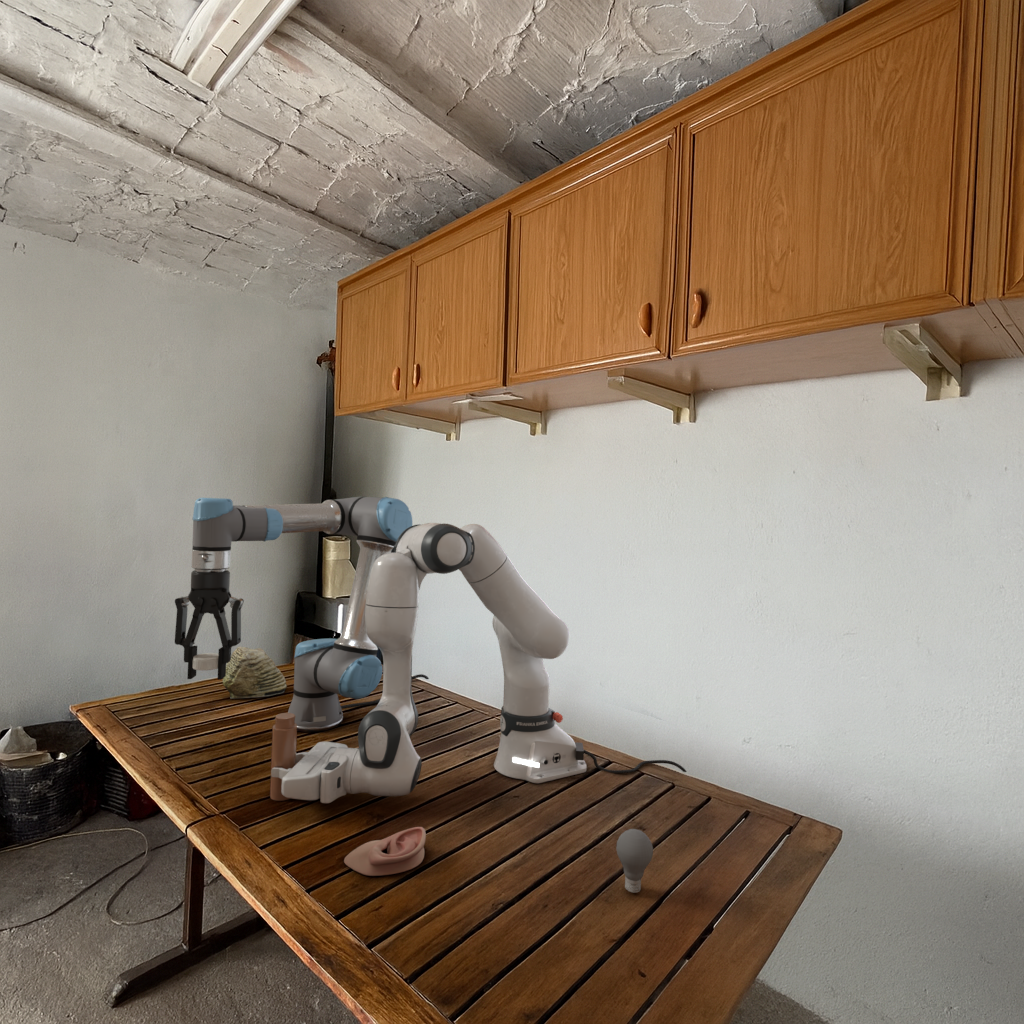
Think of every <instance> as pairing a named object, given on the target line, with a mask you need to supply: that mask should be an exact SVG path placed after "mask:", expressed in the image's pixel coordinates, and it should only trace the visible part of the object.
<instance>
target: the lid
mask: <svg viewBox="0 0 1024 1024" xmlns="http://www.w3.org/2000/svg"><path fill="white" fill-rule="evenodd" d="M218 654H219V653H217V652H206V653H199V654H198V653H197V655H195V656H194V657H193V665H192V668H193V669H195V670H196V671H203V672H204V671H213V670H218Z"/></svg>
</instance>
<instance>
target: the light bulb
mask: <svg viewBox="0 0 1024 1024" xmlns="http://www.w3.org/2000/svg"><path fill="white" fill-rule="evenodd" d="M615 849H616V854H617V857H618V859H619V861H620V863H621V865H622V867H623V873H624V874H623V875H624V876H625V878H624V888H625V890H627V891H628V892H630V893H634V894H635V893H639V892H640V891H641V889H642V887H641V886H642V879H643V877H644V875H645V871H646V868H647V867H648V866H649V864H650V863H651V861H652V859H653V855H654V847H653V843H652V841H651V838H649V836H648V835H647V834H646V833H645V832H643V831H642V830H641V829H636V828H629V829H627V830H625V831H623V832H622V833H621V834H620V835H619V837H618V839H617V841H616V847H615Z"/></svg>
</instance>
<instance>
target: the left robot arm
mask: <svg viewBox="0 0 1024 1024" xmlns="http://www.w3.org/2000/svg"><path fill="white" fill-rule="evenodd" d="M411 526H413V516H412V512H411V510H410V508H409V506H408V505H407V503H406V502H404V501H403V500H401V499H399V498H393V497H389V496H384V497H383V496H352V497H346V498H345V497H344V498H336V499H326V500H324V501H323V502H322V503H290V504H289V503H286V504H285V503H284V504H242V505H238V504H237V505H236V504H235V505H234V503H233V500H232V499H231V498H226V497H225V498H222V497H221V498H220V497H198V498H197V499H196V500H195V501H194V507H193V514H192V549H191V568H192V569H193V570H192V571H191V573H190V592H189V593H188V595H186V596H180V597H176V598H175V599H174V605H175V607H176V618H175V632H174V644H175V645H177V646H178V645H179V646H182V647H183V663H187V677H186V679H187V680H192V679H193V678H195V677H197V670H195V669H193V668H192V665H193V657H194V656H195V655H198V645H195V644H196V642H195V641H196V638H197V635H198V632H199V629H200V626H201V623H202V621H203V618H204V615H205V614H211V615H212V616H213V618H214V619H215V623H216V627H217V630H218V634H219V638H220V642H221V647H219V648H218V653H217V654H218V669H217V680H219V681H221V680H223V678H224V677H225V676H226V667H227V666H226V665H227V663H229V662H230V660H231V655H232V648H233V647H236V646H237V645H239V644H240V643H241V642H242V608H243V605H244V602H245V600H244V599H243V598H241V597H240V598H236V597H234V596H232V593H231V592H230V583H231V580H230V579H231V572H230V570H229V569H230V568H231V559H232V557H231V556H232V555H231V554H232V553H231V552H232V542H266V541H275V540H277V539H278V538H280V536H281V535H282V534H295V533H309V532H324V533H325V534H328V535H345V536H351V537H356V543H357V545H358V546H359V548H360V549H359V554H358V559H357V562H356V563H357V564H356V568H355V571H354V572H355V574H354V578H353V581H352V586H351V591H350V595H349V599H348V604H347V608H346V609H347V610H346V613H345V618H344V623H343V627H342V632H341V636H339V637H338V638H331V637H329V638H317V639H316V638H315V639H308V640H304V641H300V642H299V643H298V644H297V645H296V646H295V650H294V651H295V652H294V655H293V658H294V670H293V671H294V672H293V695H292V696H293V697H292V699H291V702H290V704H289V708H288V711H287V713H293V714H295V723H296V724H297V732H301V733H316V732H325V731H329V730H332V729H335V728H337V727H339V726H340V725H342V723H343V722H344V714H343V710H344V709H349V708H356V707H363V706H364V707H365V706H371V705H376V704H378V703H379V701H380V699H381V698H379V699H375V700H371V701H364V702H356V703H350V704H349V703H348V704H343V705H341V702H340V699H339V695H340V696H341V697H343V698H346V699H347V698H348V699H354V700H360V699H365V698H367V697H368V696H369V695H371V693H372V692H374V691H375V690H376V688H377V687H378V685H379V684H380V681H381V680H382V677H383V664H382V662H381V660H380V659H379V658H378V657H377V655H378V650H379V648H378V646H377V645H375V644H374V643H373V642H372V641H371V640H370V639H369V637H368V636H367V631H366V623H365V608H366V596H367V589H368V583H369V578H370V574H371V570H372V567H373V564H374V562H375V560H376V559H377V558H378V557H380V556H382V555H384V554H387V553H391V550H392V549H393V547H394V546H395V544H396V541H397V539H398V537H399V536H400V534H401V533H402V532H403V531H404V530H405V529H407V528H409V527H411ZM190 603H191V605H192V606H193V608H194V610H193V612H192V618H191V621H190V624H189V626H188V630H187V622H188V610H189V609H188V608H189V605H190ZM228 603H229V607H230V608H231V614H230V615H231V616H230V617H231V619H230V621H231V622H230V624H231V626H230V627H231V630H230V629H229V625H228V621H227V618H226V611H225V607H226V606H227V605H228ZM418 678H424V679H425V680H429V679H430V678H429V677H428V676H427V675H426V674H423V673H421V674H420V673H419V674H415V675H413V676H412V680H414V679H418Z"/></svg>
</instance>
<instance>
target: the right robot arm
mask: <svg viewBox="0 0 1024 1024" xmlns="http://www.w3.org/2000/svg"><path fill="white" fill-rule="evenodd" d="M458 570H459V571H460V572H461V574H462V576H463V578H464V579H465V580H466V582H467V583H468V584H469V586H470V587H471V589H472V590H473V591H474V593H475V594H476V596H477V598H479V600H480V602H481V603H482V604H483V606H484V607H485V609H487V610H488V611H489V612H490V613H491V614H492V615H493V617H492V621H491V623H492V629H493V631H494V633H495V636H496V638H497V641H498V642H497V643H498V646H499V652H500V658H501V664H502V669H503V670H502V671H503V701H502V703H503V704H502V705H501V710H500V719H499V729H500V737H499V745H498V749H497V753H496V756H495V760H494V762H493V767H494V769H495V770H496V771H497V772H498V773H499V774H501V775H503V776H506V777H509V778H512V779H517V780H523V781H526V782H530V783H532V784H542V783H547V782H550V781H554V780H559V779H564V778H567V777H570V776H574V775H575V776H576V775H579V774H584V773H586V772H587V770H588V767H587V763H586V761H585V755H587V756H588V757H590V758H591V759H592V760H593V764H594V766H595V768H596V769H598V770H599V771H603V772H607V773H611V774H618V775H621V774H632V773H634V772H636V771H638V770H639V769H640V768H641V767H642V766H644V765H653V764H668V765H672V766H674V767H676V768H678V769H679V770H681V771H682V772H683V773H687V772H688V770H686V769H685V767H683V766H682V765H681V764H679V763H678V762H675V761H672V760H668V759H667V760H666V759H654V760H652V759H651V760H644V761H641V762H639V763H638V764H637V765H636V766H635V767H633V768H630V769H621V770H620V769H619V770H617V769H615V770H613V769H607V768H604V767H602V766H601V765H599V764H598V761H597V757H596V756H595V754H593V753H591V752H589V751H588V750H586V749H584V744H583V742H577V741H576V742H575V740H574V739H573V737H572V736H571V735H570V734H568V733H567V732H566V731H565V730H564V729H562V727H560V726H558V724H560V723H562V722H563V720H564V716H563V715H562V713H560V712H558V711H555V710H554V709H552V708H551V707H550V689H551V688H550V687H551V679H550V675H549V672H548V670H547V668H546V665H545V663H544V660H553V659H557V658H559V657H560V656H562V655H563V654H565V651H566V650H567V648H568V647H569V644H570V640H571V633H570V629H569V627H568V625H567V624H566V622H565V621H564V620H563V619H562V618H560V617H559V616H558V615H557V614H556V613H555V612H554V611H553V610H552V609H551V608H550V607H549V605H548V604H547V603H546V602H545V601H544V599H542V598H541V596H540V595H539V594H538V593H537V592H536V591H535V590H534V589H533V588H532V587H531V586H530V585H529V584H528V582H527V581H526V580H525V579H524V578H523V576H522V575H521V573H520V572H519V570H518V569H517V567H516V566H515V564H514V563H513V562H512V560H511V558H510V557H509V556H508V554H507V553H506V552H505V550H504V548H503V547H502V546H501V544H500V543H499V542H498V541H497V539H496V538H495V537H494V536H493V535H492V534H491V533H490V532H489V531H488V530H487V529H486V528H485V527H484V526H483V525H481V524H479V523H478V524H477V523H469V524H465V525H464V526H461V527H460V528H459V527H458V526H456V525H454V524H452V523H451V524H450V523H439V522H426V523H422V524H420V523H419V524H414V525H413V524H412V526H411V527H409V528H407V529H405V530H404V531H403V532H402V533H401V534H400V536H399V537H398V539H397V541H396V544H395V546H394V547H393V549H392V550H391V553H387V554H384V555H382V556H380V557H378V558H377V559H376V560H375V562H374V564H373V567H372V570H371V574H370V578H369V583H368V589H367V596H366V608H365V623H366V631H367V636H368V637H369V639H370V640H371V641H372V642H373V643H374V644H375V645H376V646H377V648H378V650H380V652H381V655H382V661H383V663H382V694H381V697H380V698H379V699H380V701H379V703H377V705H376V706H375V707H374V708H373V709H371V710H370V711H369V712H368V713H367V714H366V715H365V716H364V717H363V718H362V720H361V721H360V722H359V726H358V729H357V742H358V748H357V747H348V745H347V744H345V743H340V742H333V741H317V743H316V744H315V745H314V746H313V747H312V748H311V749H310V750H308V751H302V752H298V753H297V752H296V765H295V766H294V767H293V768H292V769H291V768H289V769H288V770H287V769H284V768H283V766H275V767H274V768H273V769H272V770H271V769H270V777H271V776H272V777H278V778H280V779H282V785H281V793H282V795H283V796H285V797H287V798H290V799H293V800H301V801H317V800H320V803H321V804H330V803H332V802H334V801H336V800H337V799H339V798H340V797H344V796H346V795H347V794H349V795H351V794H352V795H359V794H364V793H365V794H368V795H371V796H375V797H403V796H408V795H409V794H411V793H412V792H413V790H414V789H415V788H416V786H417V784H418V781H419V779H420V775H421V771H422V765H423V761H422V757H421V756H420V755H419V754H418V753H417V750H416V749H415V746H414V745H413V743H412V740H411V738H410V737H412V735H413V734H414V733H415V731H416V729H417V727H418V723H419V712H418V708H417V706H416V703H415V700H414V697H413V691H412V682H413V681H412V680H413V679H412V675H413V649H414V642H415V636H416V630H417V626H418V625H417V623H418V617H419V604H420V589H421V586H422V582H423V581H424V579H425V577H426V576H427V575H428V574H441V575H445V574H450V573H454V572H456V571H458ZM556 723H558V724H556Z"/></svg>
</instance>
